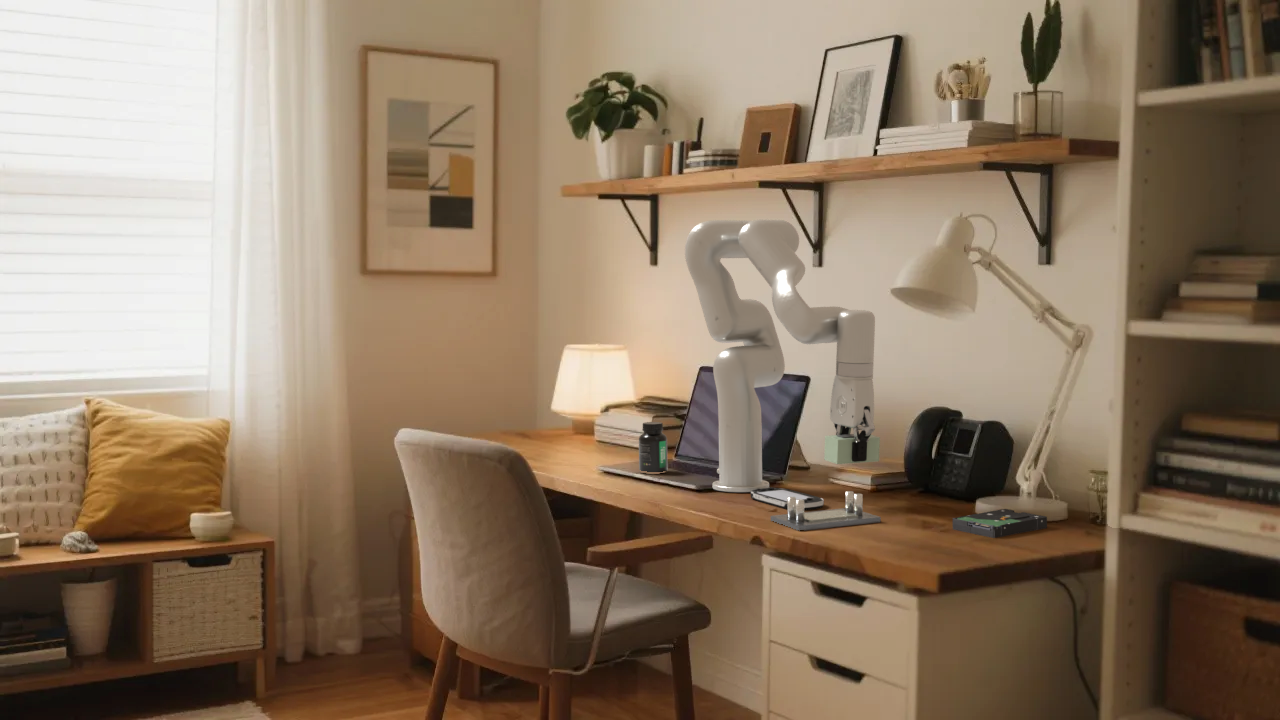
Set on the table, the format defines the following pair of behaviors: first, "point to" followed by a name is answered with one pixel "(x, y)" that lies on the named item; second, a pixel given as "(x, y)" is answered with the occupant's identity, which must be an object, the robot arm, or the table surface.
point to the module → (849, 449)
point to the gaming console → (785, 497)
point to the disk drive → (999, 523)
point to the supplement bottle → (653, 448)
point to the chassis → (826, 514)
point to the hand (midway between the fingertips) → (851, 457)
